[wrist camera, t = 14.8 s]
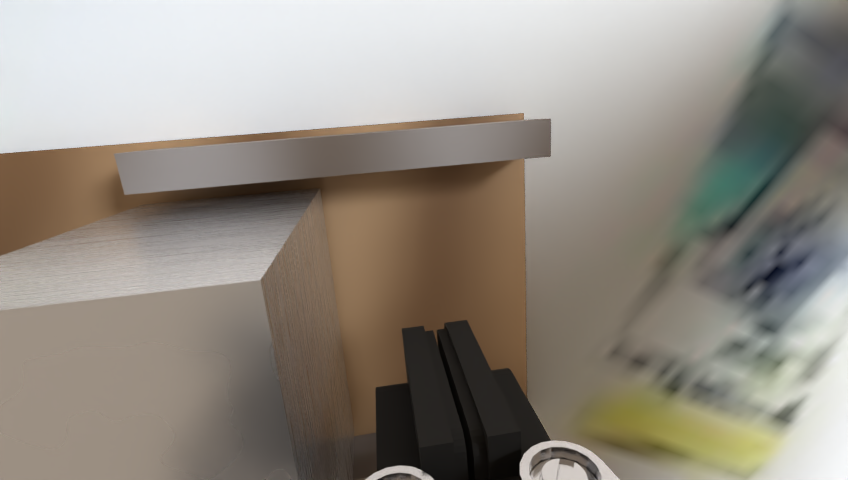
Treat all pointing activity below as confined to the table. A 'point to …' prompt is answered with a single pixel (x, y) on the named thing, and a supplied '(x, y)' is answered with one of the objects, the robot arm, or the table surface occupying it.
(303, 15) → the table surface
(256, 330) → the beige rectangular block
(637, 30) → the table surface
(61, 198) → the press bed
